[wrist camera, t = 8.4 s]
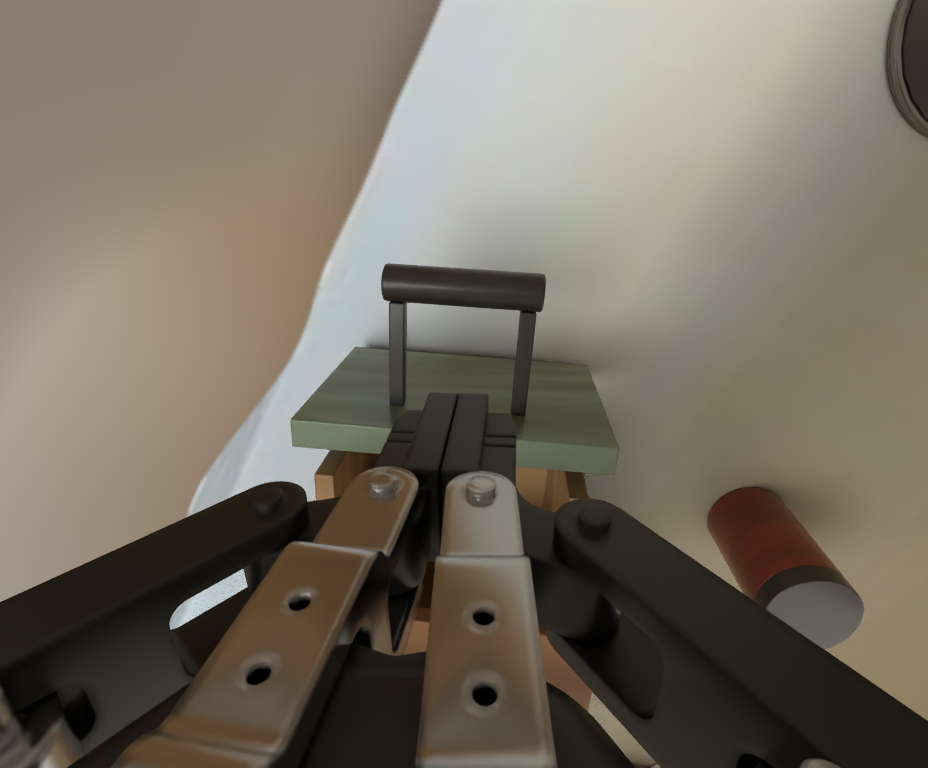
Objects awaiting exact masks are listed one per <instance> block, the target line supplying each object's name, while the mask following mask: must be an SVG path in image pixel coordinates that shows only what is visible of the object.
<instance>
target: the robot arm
mask: <svg viewBox="0 0 928 768" xmlns="http://www.w3.org/2000/svg"><path fill="white" fill-rule="evenodd" d="M887 71H888V79H889V83H890V88H891V91H892V94H893V97H894V100H895V102H896V104H897V106H898V108H899V109H900V111H901V112H902V114H903V115H904V117H905V118H906V119H907V120H908V122H909V123H910V124H911V125H912V126H913V127H915V128H916V129H917V130H918V131H919V132H921V133H922V134H924V135H925V136H927V137H928V0H899V2H898V4H897V7H896V10H895V13H894V16H893V20H892V24H891V27H890V33H889V38H888V47H887ZM488 407H489V397H488V394H472V393H460V395H458V393H442V392H430V393H429V395H428V397H427V400H426V403H425V405H424V408H423V410H407V411H406V412H405V413H403V414H402V415H401V416H400V417H398V418H397V419H396V420H395V422H394V424H393V427H392V429H391V433H389V435H388V437H387V441H386V442H385V444H384V446H383V448H382V451H381V453H380V455H379V457H378V459H377V462H376V464H375V466H374V468H373V469H369V470H367V471H364V472H362V473H360V474H359V475H357V476H356V477H355V478H354V479H353V480H352V481H351V482H350V484H349V485H348V487H347V488H346V490H345V492H344V493H343V495H342V496H339V497H335V498H330V499H323V500H317V501H310V502H307V497H306V492H305V490H304V489H303V488H302V487H301V486H299V485H297V484H294V483H291V482H283V481H280V482H269V483H264V484H261V485H258V486H255V487H253V488H250V489H248V490H246V491H244V492H242V493H239V494H237V495H235V496H233V497H231V498H228V499H226V500H224V501H222V502H220V503H217V504H215V505H213V506H211V507H209V508H206V509H204V510H202V511H200V512H198V513H195V514H193V515H191V516H189V517H187V518H184V519H182V520H180V521H178V522H176V523H174V524H171V525H169V526H167V527H165V528H162V529H160V530H158V531H156V532H154V533H151V534H149V535H147V536H145V537H143V538H140V539H138V540H136V541H134V542H132V543H130V544H127V545H125V546H123V547H121V548H118V549H116V550H114V551H112V552H110V553H107V554H105V555H103V556H101V557H99V558H96V559H94V560H92V561H90V562H88V563H85V564H83V565H81V566H79V567H77V568H74V569H72V570H70V571H68V572H66V573H63V574H61V575H59V576H57V577H55V578H52V579H50V580H48V581H46V582H44V583H42V584H39V585H37V586H35V587H33V588H31V589H28V590H26V591H24V592H22V593H19V594H17V595H15V596H13V597H11V598H9V599H6V600H4V601H2V602H0V768H635V767H634V766H633V764H632V763H631V762H630V761H629V760H628V758H627V757H626V756H625V755H624V753H623V752H622V751H621V750H620V748H619V747H618V746H617V745H616V744H615V742H614V741H613V740H612V739H611V737H610V736H609V735H608V734H607V733H606V731H605V730H604V729H603V728H602V727H601V725H600V724H599V723H598V722H597V721H596V720H595V718H594V717H593V716H592V715H590V714H589V713H588V712H587V711H586V710H585V709H584V708H583V707H582V706H581V705H580V704H579V703H578V702H577V701H575V700H574V699H573V698H571V697H570V696H569V695H568V694H566V693H565V692H563V691H562V690H560V689H558V688H557V687H555V686H554V685H552V684H550V683H548V682H546V679H545V671H544V663H543V656H542V648H541V641H540V633H539V627H541V628H544V629H546V636H547V639H548V641H549V643H550V645H551V646H552V647H553V648H554V650H555V651H556V652H557V653H558V654H559V655H560V656H561V657H562V659H563V660H564V661H565V662H566V663H567V664H568V665H569V666H570V667H571V669H572V670H573V671H574V672H575V673H576V674H577V675H578V676H579V677H580V678H581V680H582V681H583V682H584V683H585V684H586V685H587V686H588V687H589V688H590V690H591V691H592V692H593V693H594V694H595V695H596V696H597V697H598V698H599V699H600V701H601V702H602V703H603V704H604V705H605V706H606V707H607V708H608V709H609V711H610V712H611V713H612V714H613V715H614V716H615V717H616V718H617V719H618V720H619V722H620V723H621V724H622V725H623V726H624V727H625V728H626V729H627V730H628V732H629V733H630V734H631V735H632V736H633V737H634V738H635V739H636V740H637V741H638V743H639V744H640V745H641V746H642V747H643V748H644V749H645V750H646V751H647V753H648V754H649V755H650V756H651V757H652V758H653V759H654V760H655V761H656V762H657V764H658V765H659V766H660V767H661V768H928V721H927V720H925V719H924V718H922V717H921V716H920V715H918V714H917V713H915V712H914V711H912V710H911V709H909V708H908V707H907V706H905V705H904V704H902V703H901V702H899V701H898V700H896V699H895V698H894V697H892V696H891V695H889V694H888V693H886V692H885V691H883V690H882V689H880V688H879V687H878V686H876V685H875V684H873V683H872V682H870V681H869V680H867V679H866V678H865V677H863V676H862V675H860V674H859V673H857V672H856V671H854V670H853V669H852V668H850V667H849V666H847V665H846V664H844V663H843V662H841V661H840V660H839V659H837V658H836V657H834V656H833V655H831V654H830V653H828V652H827V651H825V650H824V649H823V648H821V647H820V646H818V645H817V644H815V643H814V642H812V641H811V640H810V639H808V638H807V637H805V636H804V635H802V634H801V633H799V632H798V631H797V630H795V629H794V628H792V627H791V626H789V625H788V624H786V623H785V622H784V621H782V620H781V619H779V618H778V617H776V616H775V615H773V614H772V613H770V612H769V611H768V610H766V609H765V608H763V607H762V606H760V605H759V604H757V603H756V602H755V601H753V600H752V599H750V598H749V597H747V596H746V595H744V594H743V593H742V592H740V591H739V590H737V589H736V588H734V587H733V586H731V585H730V584H729V583H727V582H726V581H724V580H723V579H721V578H720V577H718V576H717V575H715V574H714V573H713V572H711V571H710V570H708V569H707V568H705V567H704V566H702V565H701V564H700V563H698V562H697V561H695V560H694V559H692V558H691V557H689V556H688V555H687V554H685V553H684V552H682V551H681V550H679V549H678V548H676V547H675V546H674V545H672V544H671V543H669V542H668V541H666V540H665V539H663V538H662V537H660V536H659V535H658V534H656V533H655V532H653V531H652V530H650V529H649V528H647V527H646V526H645V525H643V524H642V523H640V522H639V521H637V520H636V519H634V518H633V517H632V516H630V515H629V514H627V513H626V512H624V511H623V510H621V509H620V508H618V507H617V506H615V505H612V504H610V503H608V502H605V501H601V500H596V499H576V500H572V501H569V502H567V503H565V504H563V505H562V506H561V507H559V509H558V510H557V511H556V513H554V512H551V511H547V510H544V509H541V508H538V507H536V506H534V505H532V504H530V503H529V502H527V501H526V500H525V499H524V498H523V497H522V496H521V495H520V494H519V492H518V490H517V488H516V423H515V422H514V420H513V419H512V418H511V417H510V415H509V414H504V413H488ZM428 561H430V562H435V571H434V582H433V592H432V602H431V612H430V622H429V632H428V642H427V651H425V652H418V653H412V654H405V655H404V652H405V649H406V646H407V643H408V640H409V636H410V633H411V630H412V627H413V624H414V620H415V617H416V614H417V611H418V608H419V604H420V601H421V598H422V595H423V590H424V584H423V577H424V575H425V572H426V567H427V563H428ZM241 569H244V573H245V577H246V581H247V585H248V587H247V588H245V589H244V590H242V591H240V592H238V593H237V594H235V595H233V596H232V597H230V598H228V599H226V600H225V601H223V602H221V603H220V604H218V605H216V606H214V607H213V608H211V609H209V610H208V611H206V612H204V613H202V614H201V615H199V616H197V617H196V618H194V619H192V620H190V621H189V622H187V623H185V624H184V625H182V626H180V627H178V628H176V629H172V630H170V627H169V622H170V619H171V616H172V614H173V613H174V611H175V610H176V609H177V607H178V606H179V605H181V604H182V603H183V602H184V601H186V600H187V599H189V598H191V597H193V596H194V595H196V594H198V593H200V592H202V591H203V590H205V589H207V588H209V587H211V586H212V585H214V584H216V583H218V582H220V581H221V580H223V579H225V578H227V577H229V576H230V575H232V574H234V573H236V572H238V571H239V570H241Z"/></svg>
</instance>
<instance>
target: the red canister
mask: <svg viewBox="0 0 928 768" xmlns="http://www.w3.org/2000/svg"><path fill="white" fill-rule="evenodd" d="M708 528H709V531H710V533H711V535H712V537H713V539H714V540H715V542H716V544H717V546H718V548H719V550H720V551H721V553H722V555H723V557H724V559H725V561H726V562H727V564H728V566H729V568H730V570H731V572H732V573H733V575H734V577H735V579H736V581H737V583H738V584H739V586H740V588H741V590H742V592H743V594H744V595H746V596H747V597H749V598H750V599H752V600H753V601H755V602H756V603H757V604H759V605H760V606H762V607H763V608H765V609H766V610H768V611H769V612H770V613H772V614H773V615H775V616H776V617H778V618H779V619H781V620H782V621H784V622H785V623H786V624H788V625H789V626H791V627H792V628H794V629H795V630H797V631H798V632H799V633H801V634H802V635H804V636H805V637H807V638H808V639H810V640H811V641H812V642H814V643H815V644H817V645H818V646H820V647H821V648H823V649H826V648H830V647H832V646H835V645H837V644H839V643H841V642H843V641H844V640H846V639H847V638H849V637H850V636H851V635H852V634H853V633H854V632H855V631H856V630H857V629H858V627H859V626H860V624H861V622H862V620H863V616H864V606H863V602H862V600H861V598H860V596H859V595H858V593H857V592H856V591H855V590H854V589H853V587H852V586H851V585H850V584H849V582H848V581H847V580H846V579H845V578H844V576H843V575H842V574H841V573H840V571H839V570H838V569H837V568H836V566H835V565H834V564H833V563H832V562H831V560H830V559H829V558H828V557H827V555H826V554H825V553H824V552H823V550H822V549H821V548H820V547H819V546H818V544H817V543H816V542H815V541H814V539H813V538H812V537H811V536H810V535H809V533H808V532H807V531H806V530H805V528H804V527H803V526H802V525H801V523H800V522H799V521H798V520H797V519H796V517H795V516H794V515H793V514H792V512H791V511H790V510H789V509H788V508H787V506H786V505H785V504H784V503H783V501H782V500H781V499H780V498H779V497H778V496H777V495H776V494H774V493H772V492H770V491H768V490H765V489H762V488H752V487H751V488H742V489H738V490H735V491H732V492H730V493H728V494H726V495H724V496H723V497H721V498H720V499H719V500H718V501H717V502H716V503H715V504H714V506H713V507H712V509H711V510H710V513H709V516H708Z"/></svg>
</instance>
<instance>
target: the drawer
mask: <svg viewBox="0 0 928 768" xmlns="http://www.w3.org/2000/svg"><path fill="white" fill-rule="evenodd" d="M545 287H546V277H545V275H544V274H536V273H521V272H507V271H492V270H477V269H462V268H448V267H433V266H418V265H403V264H386V265H385V266H384V269H383V272H382V280H381V289H382V295H383V299H384V300H386V301H391V302H390V303H389V350H388V349H376V348H363V347H355V348H354V349H353V350H352V351H351V352H350V353H349V354H348V356H347V357H346V358H345V359H344V360H343V361H342V362H341V363H340V365H339V366H338V367H337V368H336V369H335V370H334V371H333V372H332V374H331V375H330V376H329V377H328V378H327V379H326V380H325V381H324V383H323V384H322V385H321V386H320V387H319V388H318V389H317V390H316V391H315V393H314V394H313V395H312V396H311V397H310V398H309V399H308V400H307V402H306V403H305V404H304V405H303V406H302V407H301V408H300V409H299V411H298V412H297V413H296V414H295V415H294V416H293V417H292V418H291V420H290V421H291V433H292V444H293V446H295V447H306V448H317V449H328V450H330V451H329V453H328V454H327V456H326V458H325V459H324V461H323V462H322V464H321V465H320V467H319V468H318V470H317V471H316V473H315V489H316V501H317V500H323V499H330V498H335V497H339V496H342V495H343V493H344V492H345V490H346V488H347V487H348V485H349V484H350V482H351V481H352V480H353V479H354V478H355V477H356V476H357V475H359V474H360V473H362V472H364V471H367V470H369V469H373V468H374V466H375V464H376V462H377V459H378V457H379V455H380V453H381V451H382V448H383V446H384V444H385V442H386V441H387V437H388V435H389V433H391V429H392V427H393V424H394V422H395V420H396V419H397V418H398V417H400V416H401V415H402V414H403V413H405V412H406V411H407V410H423V408H424V405H425V403H426V400H427V397H428V395H429V393H430V392H442V393H458V395H460V393H472V394H488V397H489V407H488V413H504V414H509V415H510V417H511V418H512V419H513V420H514V422H515V423H516V488H517V490H518V492H519V494H520V495H521V496H522V497H523V498H524V499H525V500H526V501H527V502H529V503H530V504H532V505H534V506H536V507H538V508H541V509H544V510H547V511H551V512H554V513H556V511H557V510H558V509H559V507H561V506H562V505H563V504H565V503H567V502H569V501H572V500H576V499H589V497H588V493H587V488H586V484H585V480H584V475H583V473H593V474H604V475H614V473H615V468H616V462H617V457H618V452H619V447H618V444H617V442H616V439H615V437H614V434H613V431H612V429H611V426H610V423H609V421H608V418H607V416H606V413H605V410H604V408H603V405H602V402H601V400H600V397H599V395H598V392H597V389H596V387H595V384H594V382H593V379H592V376H591V374H590V371H589V368H588V366H587V365H581V364H568V363H555V362H542V361H531V359H532V350H533V341H534V332H535V323H536V312H541V311H542V309H543V305H544V298H545ZM407 302H408V303H422V304H435V305H449V306H463V307H477V308H491V309H505V310H519V311H520V317H519V328H518V338H517V349H516V359H504V358H491V357H478V356H465V355H452V354H440V353H427V352H414V351H406V349H407ZM434 571H435V562H430V561H428V563H427V567H426V572H425V575H424V577H423V584H424V590H423V595H422V598H421V601H420V604H419V607H420V608H429V609H431V602H432V592H433V582H434Z"/></svg>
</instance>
